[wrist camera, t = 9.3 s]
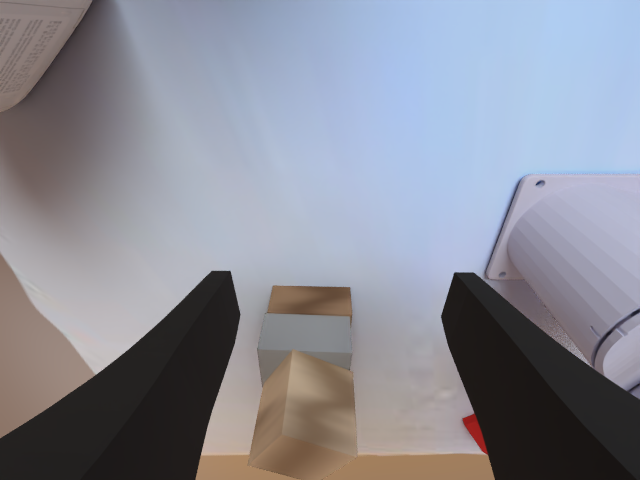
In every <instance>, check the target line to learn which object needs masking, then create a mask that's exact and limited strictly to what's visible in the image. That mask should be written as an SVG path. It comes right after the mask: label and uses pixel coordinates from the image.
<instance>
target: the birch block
mask: <svg viewBox="0 0 640 480" xmlns="http://www.w3.org/2000/svg"><path fill="white" fill-rule="evenodd" d="M357 457H358V456H357V437H356V418H355V400H354V381H353V372H352V371H350V370H347V369H344V368H342V367H339V366H336V365H334V364H331V363H329V362H326V361H323V360H321V359H318V358H316V357H313V356H310V355H307V354H305V353H302V352H299V351H297V350H295V349H292V351H291V352H290V353H289V354H288V355H287V357H286V358H285V359H284V360H283V361H282V362H281V364H280V365H279V366H278V367H277V368H276V369H275V371H274V372H273V373H272V374H271V375H270V376H269V378H268V379H267V380H266V381H265V382H264V385H263V390H262V395H261V400H260V405H259V410H258V415H257V420H256V425H255V430H254V435H253V440H252V445H251V450H250V456H249V461H248V466H252V467H256V468H259V469H263V470H267V471H271V472H274V473H278V474H282V475H286V476H290V477H293V478H297V479H301V480H323V479H324V478H326V477H327V476H329V475H331V474H332V473H334V472H335V471H337V470H338V469H340V468H341V467H343V466H345V465H346V464H348V463H349V462H351V461H353V460H354V459H356V458H357Z"/></svg>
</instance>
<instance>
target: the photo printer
mask: <svg viewBox="0 0 640 480" xmlns="http://www.w3.org/2000/svg"><path fill="white" fill-rule="evenodd" d="M92 1H93V0H0V112H3V111H6V110H8V109H10V108H12V107H13V106H15V105H16V104H18V103H19V102H20V101H21V100H23V99H24V98H25V97H26V96H27V94H28V93H29V92H30V91H31V90H32V88H33V87H34V86H35V84H36V83H37V82H38V81H39V79H40V78H41V77H42V75H43V74H44V72H45V71H46V70H47V68H48V67H49V66H50V64H51V63H52V61H53V60H54V58H55V57H56V56H57V54H58V53H59V51H60V50H61V49H62V47H63V46H64V44H65V43H66V41H67V40H68V38H69V37H70V36H71V34H72V33H73V31H74V30H75V28H76V26H77V25H78V24H79V23H80V21H81V19H82V18H83V16H84V14H85V13H86V11H87V10H88V8H89V6H90V4H91V3H92Z"/></svg>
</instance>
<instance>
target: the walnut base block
mask: <svg viewBox="0 0 640 480" xmlns="http://www.w3.org/2000/svg"><path fill="white" fill-rule="evenodd" d="M267 313H275V314H300V315H325V316H350V328H351V321H352V307H351V294H350V287H312V286H273V288H272V293H271V298H270V302H269V307H268V312H267Z"/></svg>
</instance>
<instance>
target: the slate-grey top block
mask: <svg viewBox="0 0 640 480" xmlns="http://www.w3.org/2000/svg"><path fill="white" fill-rule="evenodd" d="M292 349H295V350H297V351H299V352H302V353H305V354H307V355H310V356H313V357H316V358H318V359H321V360H323V361H326V362H329V363H331V364H334V365H336V366H339V367H342V368H344V369H347V370H350V365H351V358H352V343H351V328H350V316H325V315H300V314H275V313H265V317H264V321H263V326H262V330H261V335H260V339H259V344H258V348H257V351H258V358H259V366H260V373H261V380H262V388H263V385H264V382H265V381H266V380H267V379H268V378H269V376H270V375H271V374H272V373H273V372H274V371H275V369H276V368H277V367H278V366H279V365H280V364H281V362H282V361H283V360H284V359H285V358H286V357H287V355H288V354H289V353H290V352H291V351H292Z"/></svg>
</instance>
